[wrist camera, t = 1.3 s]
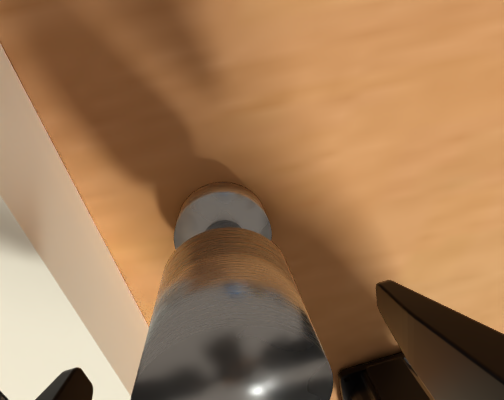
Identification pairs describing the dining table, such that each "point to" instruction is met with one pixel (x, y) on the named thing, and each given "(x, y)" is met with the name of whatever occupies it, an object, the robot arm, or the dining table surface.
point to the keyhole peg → (229, 311)
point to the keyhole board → (55, 269)
